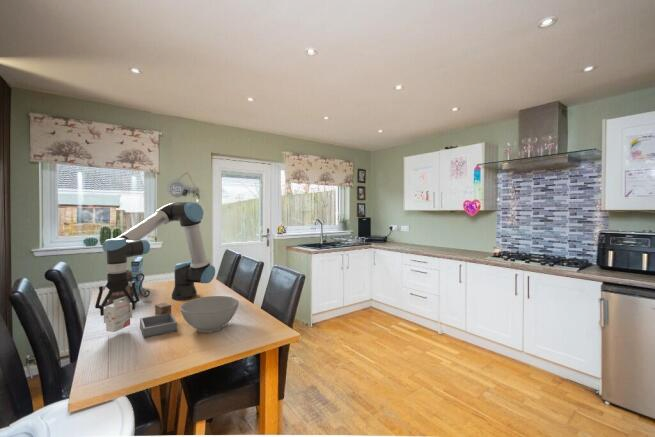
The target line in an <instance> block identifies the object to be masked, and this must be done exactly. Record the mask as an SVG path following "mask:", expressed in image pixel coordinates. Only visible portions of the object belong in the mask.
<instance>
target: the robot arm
mask: <svg viewBox="0 0 655 437" xmlns="http://www.w3.org/2000/svg"><path fill="white" fill-rule="evenodd" d="M203 217H204V210H203V208H202V206H201V204H199V203H198V202H193V201H173V202H169V203H168V204H165V205H163V206H162V207H160V208H158V209H156V210H155V211H154V213H153V214H152V215H150V216H149V217H147V218H146V219H144V220H143V221H141V222H139V223H137V224H136V225H135V226H132V227H131V228H130V229H128V230H127V231H125V232H123V233H122V234H120V235H118V236H117V237H115V238H110V239H109V238H108V239H105V241H104V242H103V243H102V246H101V247H102V251H103V252H104V253H105V254H106V271H107V272H106V273H107V274H106V275H107V276H106V277H107V278H106V279H107V281H106V282H107V283H106V284H103V285H101V284H99V286H98V290H99V292H98V295H97V298H96V302H95V304H94V308H95V309H99V310H100V311H99V312H100V314H99V315H100V317H101V316H102V317H103V323H104V324H106V307H104V306H105V305H106V303H107V301H108V300H109V298H110V296H111V295H112V293H113V292H114V293H116V292H122V291H123V292H124V293H125V294H126V296H127V297H128V298H129V300H130V301H131V302H132V303H130V319H133V311H135V310H136V304H137V303H138V302H140V299H139V298H140V297H139V295H138V294H137V291H136V288H135V281H132V282H128V281H127V272H126V270H128V258H131V257H139V256H144V255H147V254H148V253H150V250H151V244H150V242H149V241H148V240H146V239H143V238H145V237H146V236H148V235H149V234H151V233H152V232H154V231H155V230H157V229H158V228H160V227H161V226H163V225H167V224H169V223H170V222H179V226H180V227H182V228H183V229H184V233H185V238H186V243H187V247H188V251H189V255H190V259H191V261H183V262H179V263H176V264H175V265H174V287H173V289H172V293H171V299H172V300H175V301H185V300H192V299H195V298H196V297H197V296H198V291H197V289H196V286H195V283H197V284H209V283H211V282H212V281H213V280H214V278H215V276H216V267H215V266H214V265H211V263H210V262H211V261H210V259H207V256H206V252H205V247H204V243H203V238H202V232H201V229H200V224H201V222H202V219H204V218H203ZM128 284H129V285H130V286H131V287H132V289H133V292H134V295H133V296H134V298H135V300H134V299H133V298H132V297H131V295H130V294H129V292H128V291H127V290H126V287H127V285H128ZM106 288H107V289H108V293H107V294H106V296H105V297H104V299H103V301H102V302H101V300H102V296H103V292H104V291H105V289H106ZM136 302H137V303H136ZM135 303H136V304H135Z"/></svg>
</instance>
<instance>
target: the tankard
mask: <svg viewBox="0 0 655 437" xmlns="http://www.w3.org/2000/svg"><path fill="white" fill-rule="evenodd" d="M126 272H127V281H128V282H132V281H133V279H136V280H137V281H139V279H138V276H139V275H142V276H143V279H142V280H141V282H140V284H139V295H140V297H142V298H148V297H149V296H150V294H151V291H150V289H146V290H144V291H143V292H144V294H143V293H142V289H140V287H141V284H142V282H143V281H144V280H145V274H144V273H143V274H142V273H139V274H137V275H136V277H133V276H132V273H131V269H127V270H126ZM126 290H127V291H128V292H129V294H130V295H131V297H132V298H133V299H134V300H135V299H136V298H135V295H134V292H133V289H132V287H131V286H130V285H129V284H128V285H127V287H126ZM124 296H126V294H125V293H124V292H123V291H122V292H116V293H114V292H113V293H112V295H111V296H110V298H109V299H108V301H107V303H106V305H105V306H108V305H111V304H113V303H114V302H113V301H114V300H116V299H119V298H121V297H124ZM120 301H124V299H123V300H122V299H121V300H120ZM129 301H130V300H129ZM130 303H132V302H131V301H130ZM137 303H138V302H136V303H135V305H136V304H137ZM105 306H104V307H105Z"/></svg>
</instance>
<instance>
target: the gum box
mask: <svg viewBox="0 0 655 437" xmlns="http://www.w3.org/2000/svg"><path fill="white" fill-rule="evenodd" d="M143 257H144V256H134V258H133V259H132V261H131V265H130V270H131V273H132V276H133V277H136V275H137V274H139V273H142V274H144V272H143V271H144V270H143V269H144V268H143V267H144V264H143V263H144V258H143ZM138 279H139V281H137V280H136V279H133V281H135V288H136V291H137V294H138V296H139V295H140V293H139V284H140V282H141V280H142V279H143V276H142V275H139V276H138ZM143 284H144V283H143V282H142V284H141V287H140V289H141V290H143Z"/></svg>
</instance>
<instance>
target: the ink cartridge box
mask: <svg viewBox="0 0 655 437" xmlns="http://www.w3.org/2000/svg"><path fill="white" fill-rule="evenodd" d="M121 299H122V300H123V299H124V301H120V300H121ZM113 302H114V303H113V304H111V305H108V306H105V307H106V323H105V330H106V331H105V332H111V333H117V332H118V331H121V330H123V329H124V328H126V327H129V326H131V318H130V301H129V298H128V297H127V296H124V297H121V298H119V299H116V300H114V301H113Z"/></svg>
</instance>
